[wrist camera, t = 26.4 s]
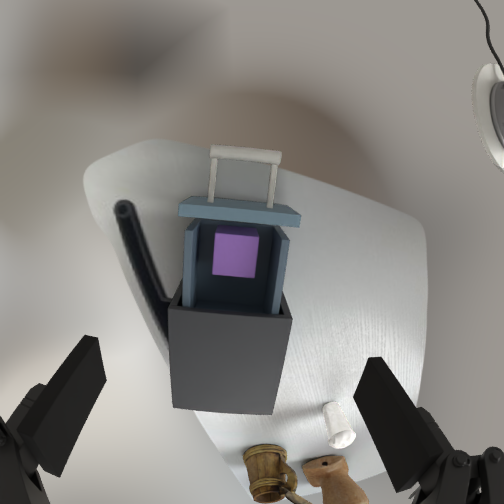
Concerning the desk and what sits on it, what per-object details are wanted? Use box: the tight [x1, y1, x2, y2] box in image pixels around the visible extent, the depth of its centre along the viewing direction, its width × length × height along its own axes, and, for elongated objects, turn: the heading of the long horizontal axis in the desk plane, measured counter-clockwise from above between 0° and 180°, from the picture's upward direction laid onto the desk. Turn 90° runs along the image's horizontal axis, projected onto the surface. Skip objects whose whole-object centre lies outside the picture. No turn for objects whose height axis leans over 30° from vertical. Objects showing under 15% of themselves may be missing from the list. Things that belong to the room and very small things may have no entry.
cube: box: [212, 225, 259, 278], centre depth 32 cm, size 4×4×4 cm
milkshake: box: [322, 402, 356, 449], centre depth 40 cm, size 5×5×10 cm
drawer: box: [178, 144, 301, 315], centre depth 31 cm, size 19×11×8 cm, turn 174°
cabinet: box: [168, 278, 293, 415], centre depth 35 cm, size 15×13×10 cm
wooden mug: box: [243, 444, 312, 504], centre depth 40 cm, size 9×14×18 cm, turn 132°
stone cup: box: [302, 456, 369, 504], centre depth 45 cm, size 15×12×15 cm
